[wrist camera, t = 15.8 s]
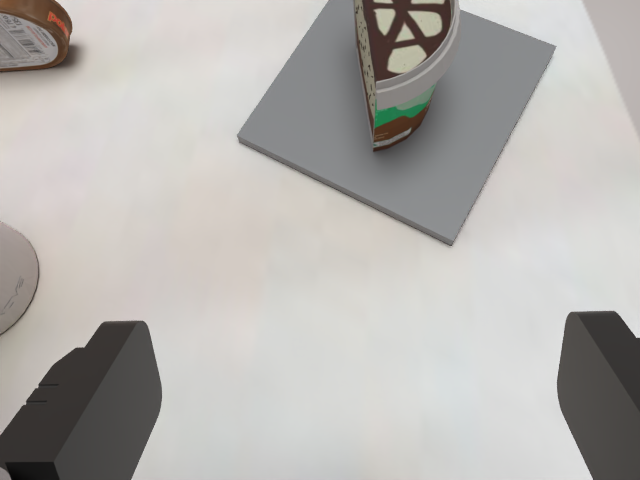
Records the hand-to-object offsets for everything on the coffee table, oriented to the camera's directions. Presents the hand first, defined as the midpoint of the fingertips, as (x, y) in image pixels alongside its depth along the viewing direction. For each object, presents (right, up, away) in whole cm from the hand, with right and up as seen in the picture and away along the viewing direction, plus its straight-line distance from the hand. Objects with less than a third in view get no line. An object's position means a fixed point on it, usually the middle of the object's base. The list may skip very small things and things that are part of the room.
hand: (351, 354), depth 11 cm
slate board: (+5, +13, +34) cm, 37 cm away
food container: (+6, +13, +33) cm, 36 cm away
